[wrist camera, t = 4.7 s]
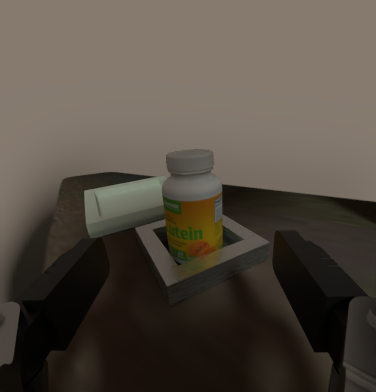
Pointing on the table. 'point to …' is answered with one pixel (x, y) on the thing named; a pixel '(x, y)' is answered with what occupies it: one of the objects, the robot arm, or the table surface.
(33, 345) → the robot arm
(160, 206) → the sage tray
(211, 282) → the gray square frame
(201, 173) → the supplement bottle
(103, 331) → the table surface
